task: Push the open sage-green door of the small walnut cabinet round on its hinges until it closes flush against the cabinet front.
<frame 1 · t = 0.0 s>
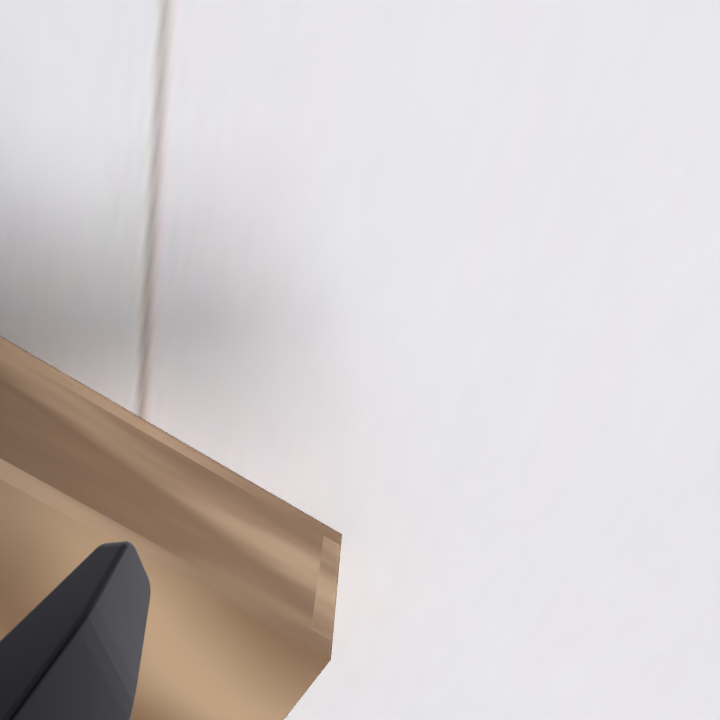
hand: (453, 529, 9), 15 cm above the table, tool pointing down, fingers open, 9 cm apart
cabinet: (112, 528, 27), on the table
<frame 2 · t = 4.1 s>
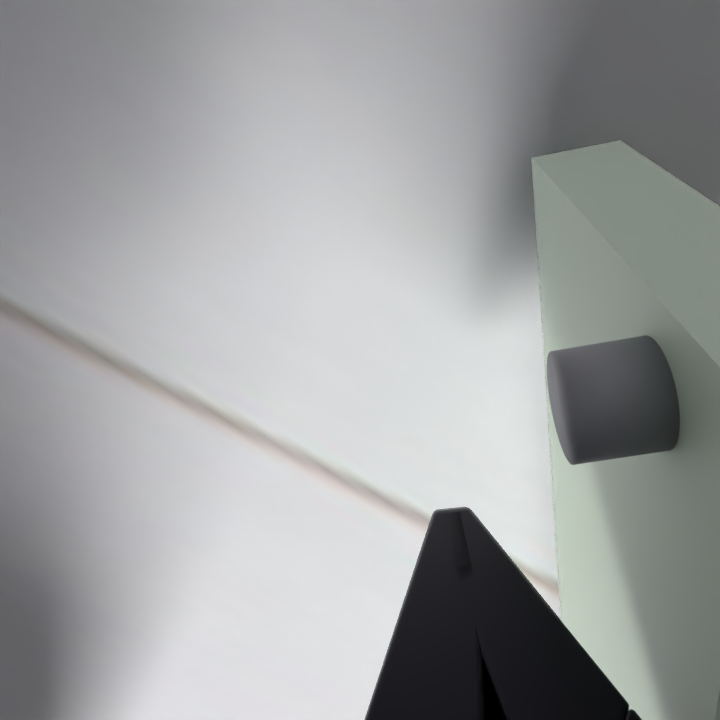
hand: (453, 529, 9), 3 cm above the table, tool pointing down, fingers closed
door: (620, 697, 10), point 3 cm above the table, hinge at 69.4°, touching gripper
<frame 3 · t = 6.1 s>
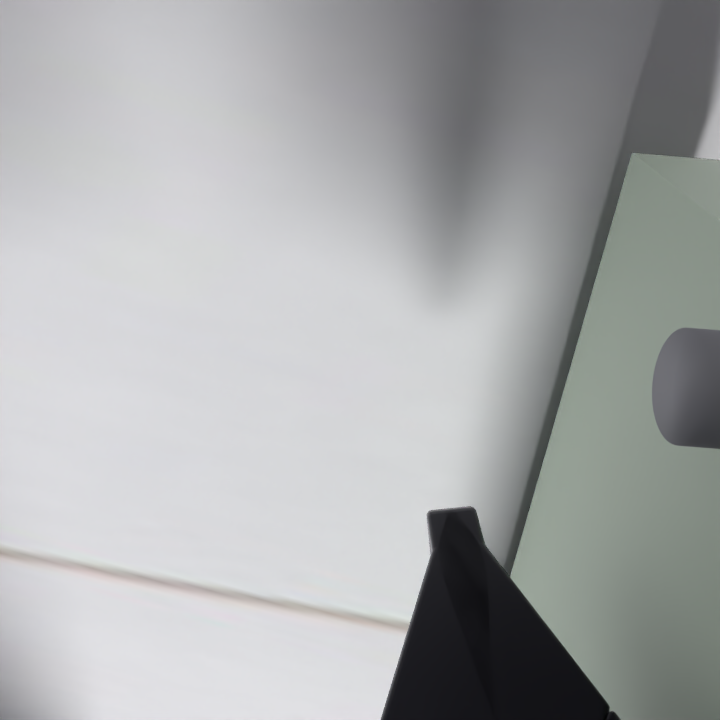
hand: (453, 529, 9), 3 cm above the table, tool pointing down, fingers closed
door: (563, 701, 10), point 4 cm above the table, hinge at 33.8°, touching gripper
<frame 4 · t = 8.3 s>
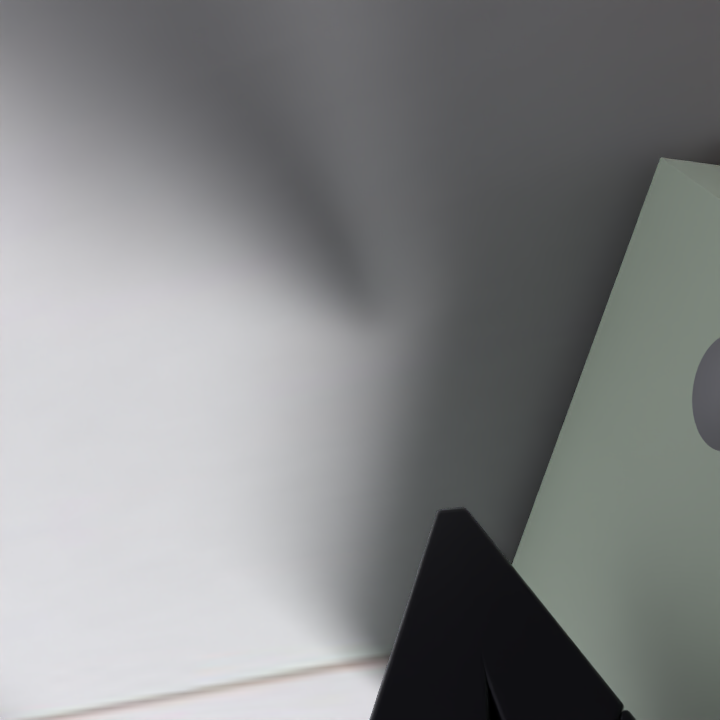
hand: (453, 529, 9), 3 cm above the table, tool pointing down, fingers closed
door: (563, 703, 11), point 3 cm above the table, hinge at -1.5°, touching cabinet, gripper
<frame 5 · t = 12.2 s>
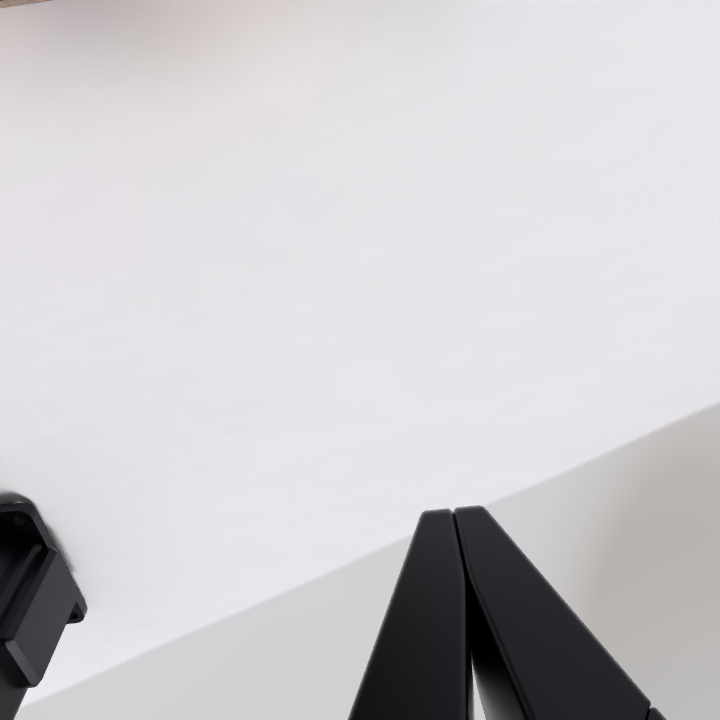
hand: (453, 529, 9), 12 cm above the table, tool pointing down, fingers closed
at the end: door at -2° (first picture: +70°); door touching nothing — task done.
